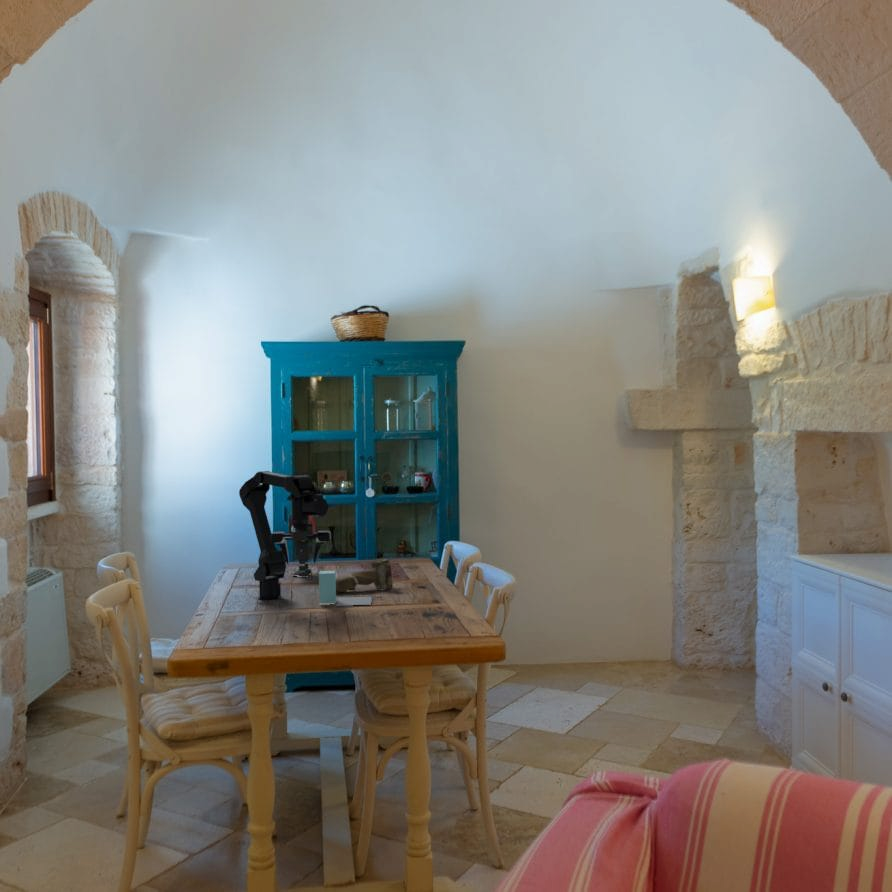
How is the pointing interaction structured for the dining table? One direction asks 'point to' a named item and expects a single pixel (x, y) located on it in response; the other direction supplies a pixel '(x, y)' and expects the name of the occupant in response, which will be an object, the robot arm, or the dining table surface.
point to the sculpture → (368, 577)
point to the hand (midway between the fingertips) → (301, 563)
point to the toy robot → (303, 550)
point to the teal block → (327, 587)
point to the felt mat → (354, 601)
